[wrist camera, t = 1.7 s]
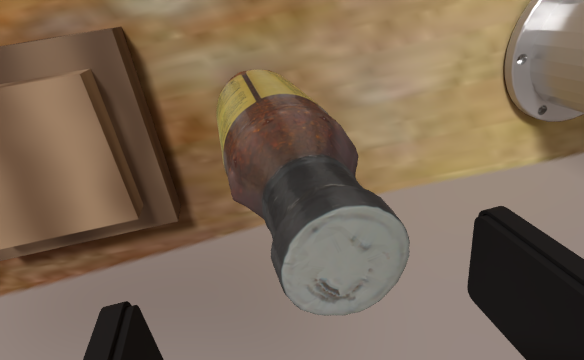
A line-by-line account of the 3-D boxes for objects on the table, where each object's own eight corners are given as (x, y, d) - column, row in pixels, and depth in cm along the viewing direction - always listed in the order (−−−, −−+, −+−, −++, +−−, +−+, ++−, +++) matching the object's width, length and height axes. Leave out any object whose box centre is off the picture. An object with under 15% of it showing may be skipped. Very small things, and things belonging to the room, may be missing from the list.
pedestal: (121, 26, 24) (102, 30, 20) (180, 205, 30) (175, 235, 26) (-109, 64, 22) (-180, 76, 18) (4, 243, 29) (-30, 282, 25)
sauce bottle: (234, 156, 29) (263, 381, 12) (202, 82, 26) (175, 235, 9) (309, 127, 29) (449, 307, 12) (285, 51, 27) (423, 140, 9)
